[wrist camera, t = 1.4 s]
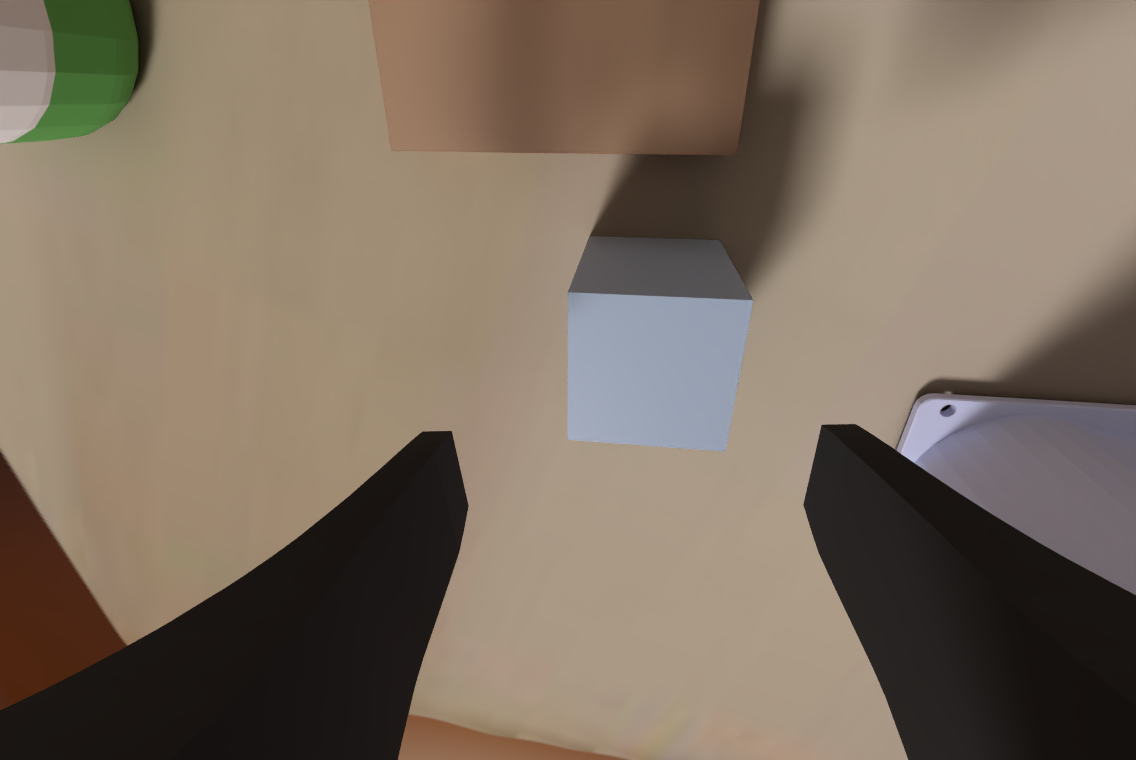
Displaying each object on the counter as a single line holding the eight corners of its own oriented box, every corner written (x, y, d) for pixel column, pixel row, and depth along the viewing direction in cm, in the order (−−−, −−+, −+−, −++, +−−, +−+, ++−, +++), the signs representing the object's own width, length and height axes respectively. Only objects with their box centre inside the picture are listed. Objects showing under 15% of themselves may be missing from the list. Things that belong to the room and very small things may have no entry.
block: (719, 239, 17) (753, 300, 12) (702, 356, 19) (725, 451, 14) (589, 235, 18) (568, 292, 12) (587, 350, 20) (568, 439, 15)
